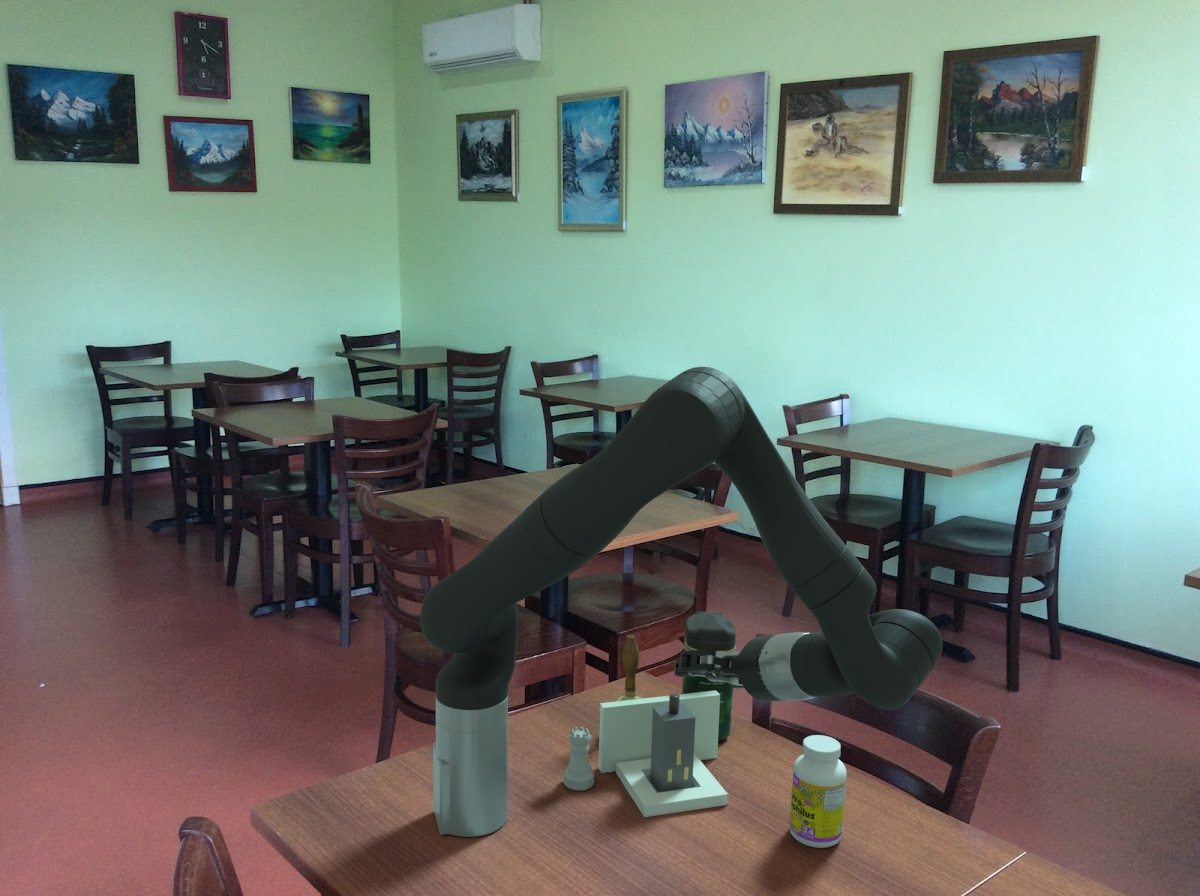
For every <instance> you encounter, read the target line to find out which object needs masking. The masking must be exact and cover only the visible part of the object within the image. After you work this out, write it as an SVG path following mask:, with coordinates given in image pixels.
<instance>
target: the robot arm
mask: <svg viewBox="0 0 1200 896" xmlns="http://www.w3.org/2000/svg"><path fill="white" fill-rule="evenodd" d="M739 387H740V386H738V384H737V383H736V382H735V381H734V379H732V378H731V377H730V376H729V375H727V374H726V373H724V372H723V371H721V370H720V369H716V368H713V367H710V366H696V367H695V366H694V367H690V368H689V369H685V370H683V371H682V372H680V373H679V374H678V375H676V376H674V377H673V378H672V379H670V380H668V381H667V382H665V383H664V384H662V385H661V386H660V387H658V388H657V389H655V391H653V392H652V393H651V394H650V395H649V396H648V397H647V399H646V400H645V401H644V402H643V403H642V404H641V406H640V407H639V408H638V409H637V410H636V412H635V413H634V414H633V415H632V417H631V418H630V419H629V420H628V421H627V422H626V424H625V425H624V426H623V427H622V428H621V429H620V430H619V432H618V433H617V434H616V435H615V436H614V437H613V438H612V439H611V440H610V441H609V443H608V444H607V445H606V446H604V448H603V449H602V450H601V451H600V452H598V453H596V454H595V456H593V457H592V458H590V459H589V460H586V461H585V462H583V463H582V464H580V465H579V466H576V467H575V468H573V469H572V470H571V471H570V470H569V472H567V473H566V474H564V475H563V476H562V477H560V478H559V479H558V480H557V481H556V482H554V483H553V484H552V485H550V486H549V487H548V488H547V489H546V490H544V491H543V492H542V493H541V494H539V496H538V497H537V498H535V500H533V501H532V502H531V503H530V504H529V505H528V506H527V507H526V508H525V509H523V511H522V512H521V513H520V514H519V515H518V516H517V517H516V518H515V519H514V520H512V521H511V522H510V523H509V524H508V525H507V526H506V527H505V528H503V530H502V531H501V532H500V533H498V535H497V536H495V538H493V539H492V540H491V541H490V542H489V543H488V544H487V546H485V547H484V549H482V551H481V552H479V553H477V555H476V556H475V557H473V558H472V559H471V560H469V561H468V562H467V563H465V564H463V566H461V567H459V568H458V569H456V570H454V571H453V572H452V573H450V574H449V575H447V576H446V577H444V578H442V579H441V580H440V581H438V582H436V583H435V584H434V585H433V586H432V587H431V588H430V589H429V590H428V591H427V593H426V594H425V596H424V599H423V601H422V604H421V607H420V613H419V623H420V628H421V632H422V634H423V636H424V638H425V640H426V641H427V642H428V644H430V645H431V646H432V647H434V648H435V649H437V650H439V651H442V652H443V653H449V654H453V656H452V657H451V659H449V661H447V663H446V664H445V665H444V666H443V667H442V668H441V669H440V670H439V672H438V674H437V675H436V679H435V744H434V745H433V747H432V748H433V750H432V751H433V753H432V754H433V755H432V757H433V759H432V761H433V762H432V763H433V764H432V765H433V767H432V768H433V771H432V772H433V780H432V781H433V783H432V785H433V814H434V817H435V821H436V824H437V828H438V833H439V834H440V835H441V836H442V835H451V836H456V837H465V838H468V837H469V838H474V837H480V836H482V837H483V836H485V835H489V834H491V833H493V832H496V831H498V830H499V829H501V828H502V827H503V826H504V825H505V823H506V822H507V819H508V804H509V803H508V802H509V801H508V780H509V779H508V777H509V775H508V772H509V771H508V770H509V768H508V767H509V766H508V765H509V764H508V760H509V759H508V757H509V756H508V755H509V749H508V746H509V685H510V682H511V680H512V678H513V675H514V671H515V666H516V656H517V655H516V654H517V640H518V639H517V638H518V623H519V618H518V616H519V614H518V610H519V609H518V603H519V602H520V601H523V600H525V599H526V598H529V597H532V596H533V595H535V594H537V593H539V592H541V591H543V590H545V589H547V588H549V587H552V585H555V584H556V583H558V582H559V581H561V580H563V579H565V578H567V577H568V576H570V575H571V574H573V573H575V572H576V571H578V570H579V569H580V568H582V567H583V566H584V565H586V564H587V563H589V562H590V561H591V560H592V559H593V558H594V557H596V556H597V555H598V554H599V553H601V552H602V551H603V550H604V549H606V548H607V547H608V546H610V544H611V543H612V542H613V541H615V539H616V538H617V537H618V536H619V535H620V534H621V533H622V532H623V531H624V529H625V528H627V526H628V525H629V524H630V522H632V520H633V518H635V516H636V515H637V514H638V513H639V512H640V511H641V509H643V508H644V507H645V506H647V505H648V504H649V503H650V502H652V501H653V500H654V499H657V497H659V496H661V495H662V494H664V493H665V492H667V491H669V490H670V489H672V488H673V487H675V486H678V484H680V483H682V482H683V481H685V480H687V479H688V478H690V477H691V476H693V475H695V474H697V473H698V472H701V471H702V470H704V469H706V468H708V467H709V466H711V465H712V464H715V465H716V466H718V468H719V469H720V470H721V471H722V472H723V474H725V475H726V477H727V478H728V479H729V480H730V481H731V483H732V484H733V485H734V487H735V488H736V490H737V491H738V492H739V494H740V496H741V498H742V499H743V501H744V503H745V505H746V507H747V509H748V511H749V513H750V515H751V518H752V520H753V522H754V524H755V527H756V529H757V531H758V533H759V536H760V539H761V541H762V544H763V546H764V548H765V550H766V552H767V554H768V556H769V558H770V560H771V561H772V564H773V565H774V567H775V568H776V570H777V572H778V574H780V576H781V577H782V578H783V580H784V581H785V582H786V583H787V585H788V586H789V588H791V590H792V591H793V592H794V593H795V594H796V596H797V597H798V599H800V601H801V602H802V603H803V604H804V606H805V607H806V608H807V609H808V610H809V611H810V612H811V614H812V615H813V616H814V617H815V619H816V621H817V622H818V625H819V627H820V630H821V631H816V632H801V631H799V632H798V631H796V632H787V633H778V634H770V635H764V636H756V637H754V638H752V639H750V640H749V641H748V642H746V643H745V645H744V646H743V647H742V649H741V650H735V651H731V652H730V653H729V652H716V650H713V649H712V648H709V649H703V650H692V651H681V653H680V657H678V658H676V659H675V660H674V667H673V668H674V669H673V673H674V676H676V677H679V678H683V677H686V676H693V677H695V676H703V677H706V678H707V679H708V680H710V681H714V682H728V683H729V686H730V688H733V689H745V692H746V693H748V695H750V696H751V697H752V698H753V699H755V700H757V701H760V702H766V703H767V702H789V701H790V702H792V701H795V702H796V701H806V700H811V699H815V698H827V697H828V698H829V697H830V698H831V697H845V696H848V695H852V694H853V693H854V694H856V695H857V697H859V698H860V699H862V700H863V701H864V702H865V703H867V704H868V705H870V706H872V707H874V708H877V709H880V710H885V711H893V710H898V709H900V708H901V707H903V706H905V705H906V704H907V703H908V702H909V701H910V700H911V698H912V697H913V696H914V695H915V693H916V692H917V691H918V689H919V688H920V687H921V685H922V684H923V682H924V681H925V680H926V678H927V677H929V675H930V673H931V672H932V671H933V669H934V668H935V667H936V665H937V664H938V663H939V660H940V658H941V656H942V652H943V647H944V646H943V645H944V644H943V639H942V635H941V633H940V631H939V628H938V627H937V626H936V625H935V624H934V623H933V622H932V621H931V620H930V619H928V617H926V616H924V615H923V614H921V613H918V612H916V611H914V610H908V609H899V608H894V609H893V608H891V609H886V610H881V611H878V612H875V613H872V614H870V611H871V607H872V604H873V603H874V602H873V601H874V600H875V597H876V594H877V584H876V582H875V579H873V577H872V575H871V574H870V573H869V572H868V571H867V568H866V567H865V566H863V564H862V563H861V562H860V560H859V559H858V558H857V557H856V556H855V554H854V553H853V552H852V551H851V549H849V546H847V545H846V543H845V542H844V541H843V539H841V538H840V537H839V535H838V533H836V532H835V530H834V529H833V528H832V527H831V525H830V524H829V523H828V522H827V521H826V519H825V518H824V517H823V515H822V514H821V513H820V511H819V510H818V509H817V508H816V506H815V504H814V503H813V502H812V501H811V499H810V497H808V495H807V494H806V493H805V491H804V489H803V488H802V487H801V485H800V483H799V482H798V481H797V479H796V478H795V475H794V474H793V473H792V472H791V470H790V468H789V466H788V465H787V463H786V461H785V460H784V459H783V457H782V455H781V454H780V453H779V451H778V449H777V447H776V446H775V445H774V443H773V441H772V439H771V438H770V437H769V436H770V435H768V433H767V431H766V430H765V428H764V426H763V425H762V423H761V420H759V418H758V416H757V414H756V412H755V411H754V409H753V407H752V406H751V404H750V403H749V401H748V399H747V397H746V395H745V394H744V393H743V391H742V390H741V389H740V388H739ZM716 667H721V670H720V673H721V675H722V676H716V675H715V668H716Z"/></svg>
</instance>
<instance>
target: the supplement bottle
mask: <svg viewBox="0 0 1200 896" xmlns="http://www.w3.org/2000/svg"><path fill="white" fill-rule="evenodd" d="M841 747H842V746H841V743H840V742H839V741H838V740H836V739H835V738H833V737H830V736H828V735H822V734H815V735H814V734H813V735H808V736H807V737H805V738H804V739H803V741H802V752H803V754H801V755H799V756H798V757H797V758H796V759H795V761H794V763H793V770H792V771H793V772H792V773H793V774H792V787H791V800H790V801H791V802H790V810H789V811H790V815H789V831H790V834H791V835H792V837H793V838H794V839H795V840H796V841H798V842H799V843H801V844H803V845H804V846H807V847H811V848H816V849H817V848H818V849H825V848H831V847H833V846H834V845H837V844H838V843H840V841H841V838H842V835H843V828H844V827H843V824H844V812H845V799H846V786H847V775H848V773H847V768H846V766H845V764H844V763H843V762H842V761H841V760H840V759H839V758H840V757H841Z"/></svg>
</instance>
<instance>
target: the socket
mask: <svg viewBox="0 0 1200 896" xmlns="http://www.w3.org/2000/svg"><path fill="white" fill-rule="evenodd" d="M678 695H679V696H680V701H679V704H684V705H685V707H686V708H687V709H688V710H689V711H690V712H691V713H692V714H693V715H694V717H695V738H694V760H693V782H692V788H688V789H681V790H674V791H667V792H658V790H657V789H656V788H655V786H654V785H653V783H652V782H651V781H650V772H651V745H652V718H653V707H658V706H667V705H669V696H670V695H662V696H652V697H646V698H645V697H644V698H643V697H642V699H634V700H625V701H617V700H616V701H607V702H600V703H599V727H598V728H599V730H598V735H599V736H598V767H597V768H598V770H599V771H600V773H601V774H606V773H605V772H608V773H613V771H615V774H616V775H617V777H618V778H620V779H619V780H620V782H621V784H622V785H623V787H624V788H625V790H626V791H627V792H628V794H629V796H630V797H631V799H632V800H633V802H634V803H635V805H636V807H637V808H638V809H639V811H640V814H642V816H643V817H644V818H648V817H649V818H650V817H655V816H661V815H668V814H669V815H670V814H675V813H682V812H683V813H684V812H688V811H695V810H701V809H702V810H703V809H709V808H714V807H715V808H716V807H722V806H728V805H729V804H728V803H729V802H728V801H729V793H728V792H727V791H726V790H725V788H724V787H723V786H722V785H721V783H720V782H719V781H718V780H717V779H716V777H715V776H714V775H713V774H712V773H711V772H710V770H709V769H708V768H707V767H706V765H705V764H704V763H703V762H702V761H703V760H712V759H717V758H718V750H719V748H718V747H719V740H718V730H719V710H720V694H719V693H718V692H717V691H707V692H698V693H689V694H682V693H681V694H678Z"/></svg>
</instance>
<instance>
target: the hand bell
mask: <svg viewBox="0 0 1200 896" xmlns="http://www.w3.org/2000/svg"><path fill="white" fill-rule="evenodd" d="M625 639H626V640H625V642H624V645H623V649H622V665H623V670H624V673H625V678H624V679H625V683H624V684H625V685H624V695H622V696H619V697H618V698H617V699H616V701H625V700H634V699H643V697H640V696H638V695H637V688H636V686H637V685H636V674H637V670H638V666H639V662H640V661H639V660H640V650H639V646H638V643H637V640H636V636H635V635H634V634H628V635H626V638H625Z"/></svg>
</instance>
